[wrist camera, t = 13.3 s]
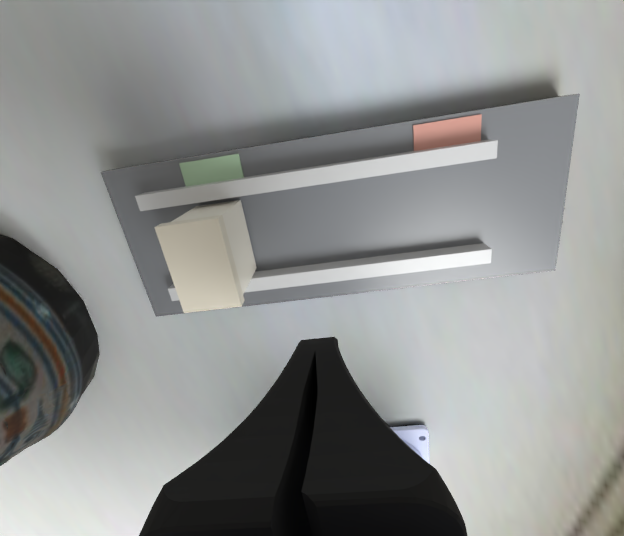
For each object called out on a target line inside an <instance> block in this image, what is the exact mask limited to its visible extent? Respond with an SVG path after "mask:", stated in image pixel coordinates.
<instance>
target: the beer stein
mask: <svg viewBox="0 0 624 536" xmlns="http://www.w3.org/2000/svg"><path fill="white" fill-rule="evenodd" d="M98 358H99V345H98V336H97V333H96V330H95V328H94V326H93V323H92V321H91V318H90V316H89V314H88V311H87V309H86V306H85V304H84V302H83V300H82V299H81V298H80V296H79V295H78V294H77V293H76V291H75V290H74V289H73V288H72V286H71V285H70V284H69V283H68V282H67V280H66V279H65V278H64V277H63V275H62V274H61V273H60V272H59V270H58V269H56V268H55V267H53V266H52V265H51V264H49V263H48V262H46V261H45V260H43V259H42V258H40V257H39V256H37V255H36V254H35V253H33V252H32V251H30V250H29V249H27V248H26V247H24V246H23V245H21V244H20V243H19V242H17V241H16V240H14V239H13V238H9V237H6V236H3V235H0V466H1V465H2V464H4V463H6V462H7V461H8V460H10V459H11V458H12V457H14V456H15V455H17V454H18V453H20V452H21V451H23V450H24V449H26V448H27V447H29V446H31V445H33V444H35V443H37V442H39V441H40V440H42V439H44V438H46V437H47V436H49V435H50V434H52V433H53V432H54V431H55V430H57V429H58V428H59V427H60V426H61V425H62V424H63V423H64V422H65V420H66V419H67V418H68V417H69V416H70V414H71V413H72V411H73V410H74V408H75V407H76V405H77V403H78V401H79V399H80V397H81V395H82V394H83V392H84V391H85V389H86V388H87V386H88V385H89V383H90V382H91V380H92V379H93V377H94V375H95V370H96V366H97V362H98Z"/></svg>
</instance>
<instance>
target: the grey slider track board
mask: <svg viewBox="0 0 624 536" xmlns="http://www.w3.org/2000/svg"><path fill="white" fill-rule="evenodd" d="M578 101H579V94H573V95H565V96H558V97H552V98H546V99H540V100H534V101H528V102H521V103H515V104H509V105H503V106H497V107H491V108H485V109H479V110H473V111H466V112H460V113H454V114H448V115H442V116H436V117H430V118H424V119H418V120H412V121H405V122H399V123H393V124H387V125H381V126H375V127H369V128H363V129H357V130H351V131H344V132H338V133H332V134H326V135H320V136H314V137H308V138H302V139H296V140H289V141H283V142H277V143H271V144H265V145H259V146H253V147H247V148H241V149H235V150H228V151H222V152H216V153H210V154H204V155H198V156H192V157H186V158H180V159H173V160H167V161H161V162H155V163H149V164H143V165H137V166H131V167H125V168H119V169H113V170H108V171H103V172H101V174H102V177H103V179H104V182H105V185H106V187H107V190H108V192H109V195H110V198H111V200H112V203H113V206H114V208H115V211H116V213H117V216H118V219H119V221H120V224H121V226H122V229H123V232H124V234H125V237H126V239H127V242H128V245H129V247H130V250H131V253H132V255H133V258H134V260H135V263H136V266H137V268H138V271H139V273H140V276H141V279H142V281H143V284H144V287H145V289H146V292H147V294H148V297H149V300H150V302H151V305H152V307H153V310H154V313H155V315H156V316H164V315H173V314H181V313H184V312H183V309H182V306H181V303H180V300H179V298H178V295H177V292H176V289H175V286H174V283H173V280H172V277H171V274H170V271H169V268H168V266H167V263H166V260H165V257H164V254H163V251H162V248H161V245H160V242H159V239H158V236H157V234H156V231H155V228H154V227H156V226H158V225H159V224H162V223H169V222H171V221H173V220H175V219H176V218H178V217H180V216H181V215H183V214H185V213H186V212H188V211H189V210H191V209H193V208H194V207H196V206H202V205H209V204H216V203H222V202H229V201H236V200H241V203H242V207H243V212H244V216H245V220H246V224H247V229H248V233H249V237H250V242H251V246H252V250H253V254H254V259H255V263H256V267H257V268H256V270H255V272H254V274H253V276H252V278H251V280H250V282H249V284H248V286H247V288H246V290H245V292H244V294H243V296H244V303H243V305H242V306H251V305H260V304H268V303H277V302H286V301H294V300H303V299H312V298H321V297H329V296H338V295H347V294H355V293H364V292H373V291H381V290H390V289H399V288H407V287H416V286H425V285H433V284H442V283H451V282H460V281H468V280H477V279H486V278H494V277H503V276H512V275H520V274H529V273H538V272H546V271H555V270H556V263H557V256H558V248H559V241H560V234H561V226H562V219H563V212H564V204H565V197H566V190H567V182H568V175H569V168H570V160H571V153H572V146H573V138H574V131H575V123H576V116H577V109H578Z"/></svg>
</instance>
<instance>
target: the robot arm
mask: <svg viewBox="0 0 624 536" xmlns="http://www.w3.org/2000/svg"><path fill="white" fill-rule="evenodd" d="M139 536H467V532H466V526H465V523H464V520H463V518H462V515H461V513H460V511H459V509H458V507H457V505H456V503H455V501H454V499H453V497H452V495H451V493H450V491H449V490H448V488H447V486H446V484H445V483H444V481H443V480H442V478H441V476H440V475H439V473H438V472H437V470H436V469H435V468H434V467H433V466H431V465H430V461H429V432H428V429H427V427H426V426H424V425H414V426H400V427H389V426H388V425H387V424H386V423H385V422H384V421H383V420H382V418H381V417H380V416H379V415H378V414H377V412H376V411H375V410H374V409H373V407H372V406H371V405H370V404H369V402H368V401H367V400H366V398H365V397H364V395H363V394H362V392H361V391H360V389H359V388H358V386H357V385H356V383H355V381H354V380H353V378H352V376H351V375H350V373H349V371H348V369H347V367H346V365H345V363H344V361H343V358H342V356H341V353H340V351H339V347H338V341H337V339H336V338H335V337H329V338H319V339H309V340H301V341H300V342H299V344H298V346H297V348H296V349H295V351H294V353H293V355H292V357H291V358H290V360H289V362H288V363H287V365H286V367H285V368H284V370H283V371H282V373H281V374H280V376H279V378H278V379H277V380H276V382H275V383H274V385H273V386H272V387H271V389H270V390H269V392H268V393H267V394H266V396H265V397H264V398H263V399H262V401H261V402H260V403H259V404H258V406H257V407H256V408H255V409H254V410H253V411H252V412H251V414H250V415H249V416H248V417H247V418H246V419H245V420H244V421H243V422H242V423H241V424H240V425H239V426H238V427H237V428H236V429H235V430H234V431H233V432H232V433H231V434H230V435H229V436H228V437H227V438H225V439H224V440H223V441H222V442H221V443H220V444H219V445H217V446H216V447H215V448H214V449H213V450H211V451H210V452H209V453H208V454H206V455H205V456H204V457H203V458H201V459H200V460H199V461H198V462H196V463H195V464H193V465H192V466H191V467H189V468H188V469H186V470H185V471H184V472H182V473H181V474H179V475H178V476H177V477H175V478H174V479H172V480H171V481H169V482H168V483H166V484H165V485H164V486H163V488H162V490H161V492H160V493H159V495H158V497H157V499H156V501H155V502H154V505H153V507H152V509H151V511H150V513H149V515H148V517H147V519H146V522H145V524H144V526H143V528H142V530H141V533H140V535H139Z"/></svg>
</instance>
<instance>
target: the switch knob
mask: <svg viewBox="0 0 624 536" xmlns="http://www.w3.org/2000/svg"><path fill="white" fill-rule="evenodd" d="M154 228H155V231H156V234H157V236H158V239H159V242H160V245H161V248H162V251H163V254H164V257H165V260H166V263H167V266H168V268H169V271H170V274H171V277H172V280H173V283H174V286H175V289H176V292H177V295H178V298H179V300H180V303H181V306H182V309H183V312H184V313H190V312H199V311H208V310H216V309H225V308H234V307H242V305H243V303H244V296H243V294H244V292H245V290H246V288H247V286H248V284H249V282H250V280H251V278H252V276H253V274H254V272H255V270H256V268H257V267H256V263H255V259H254V254H253V250H252V246H251V242H250V237H249V233H248V229H247V224H246V220H245V216H244V212H243V207H242V203H241V200H236V201H229V202H222V203H216V204H209V205H202V206H196V207H194V208H193V209H191V210H189V211H188V212H186V213H185V214H183V215H181V216H180V217H178V218H176V219H175V220H173V221H171V222H169V223H162V224H159V225H158V226H156V227H154Z"/></svg>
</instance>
